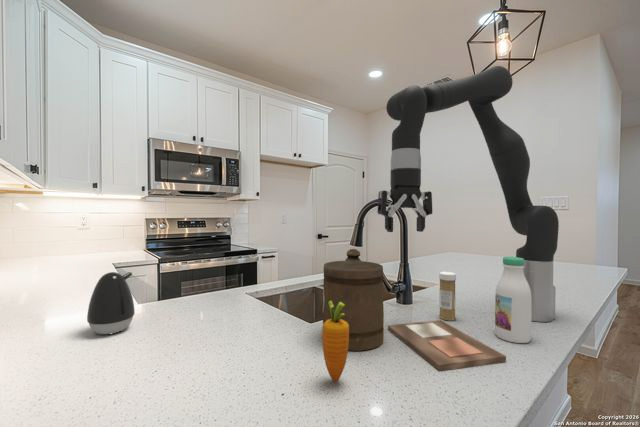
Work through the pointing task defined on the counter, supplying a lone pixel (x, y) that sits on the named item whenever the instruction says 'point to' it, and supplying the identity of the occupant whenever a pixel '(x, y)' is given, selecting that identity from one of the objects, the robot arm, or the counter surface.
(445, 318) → the sprinkles bottle
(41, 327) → the counter surface
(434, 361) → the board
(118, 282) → the pump dispenser
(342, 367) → the carrot
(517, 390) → the counter surface
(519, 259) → the milk bottle
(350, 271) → the wooden container
